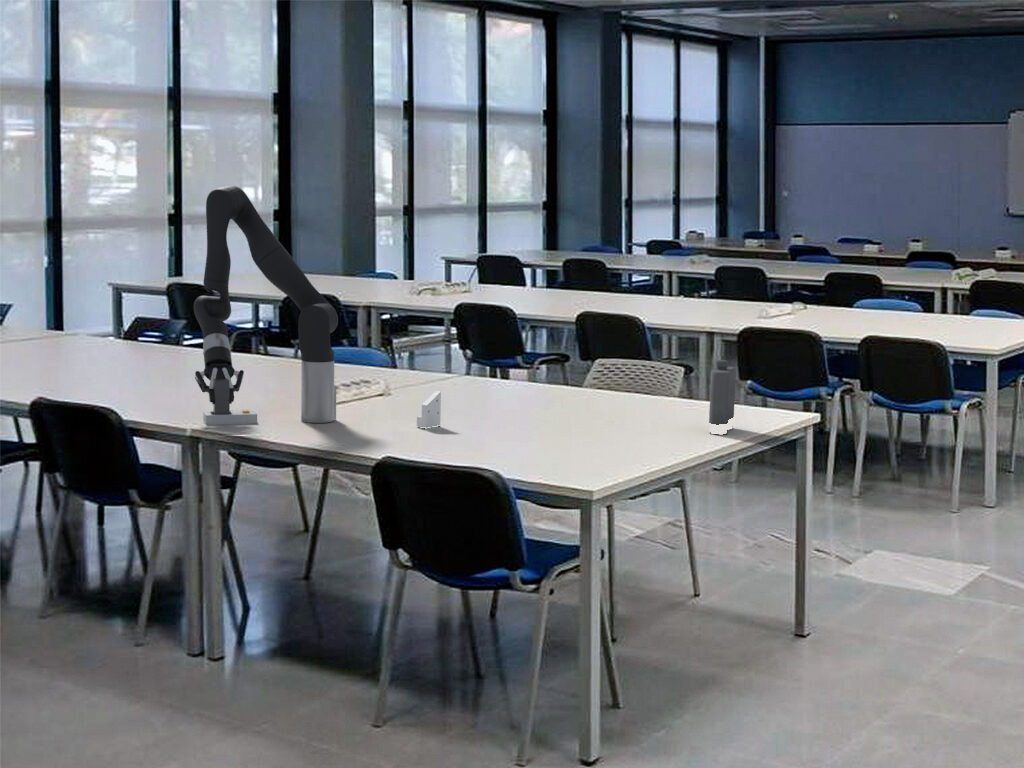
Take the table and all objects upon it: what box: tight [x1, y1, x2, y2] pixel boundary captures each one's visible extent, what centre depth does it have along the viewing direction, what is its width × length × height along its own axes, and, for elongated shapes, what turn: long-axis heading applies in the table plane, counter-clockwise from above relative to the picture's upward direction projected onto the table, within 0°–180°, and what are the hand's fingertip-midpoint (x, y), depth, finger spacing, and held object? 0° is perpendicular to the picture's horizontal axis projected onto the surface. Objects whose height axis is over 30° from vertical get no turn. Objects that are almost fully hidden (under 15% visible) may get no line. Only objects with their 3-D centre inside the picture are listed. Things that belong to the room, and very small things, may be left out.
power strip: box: [202, 409, 258, 426], centre depth 421 cm, size 14×7×4 cm, turn 107°
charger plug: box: [212, 379, 231, 415], centre depth 420 cm, size 4×4×10 cm
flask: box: [708, 359, 737, 425], centre depth 427 cm, size 15×6×20 cm, turn 162°
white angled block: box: [416, 390, 442, 428], centre depth 423 cm, size 4×10×9 cm
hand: (222, 402), depth 418 cm, fingers closed on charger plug, 4 cm apart
